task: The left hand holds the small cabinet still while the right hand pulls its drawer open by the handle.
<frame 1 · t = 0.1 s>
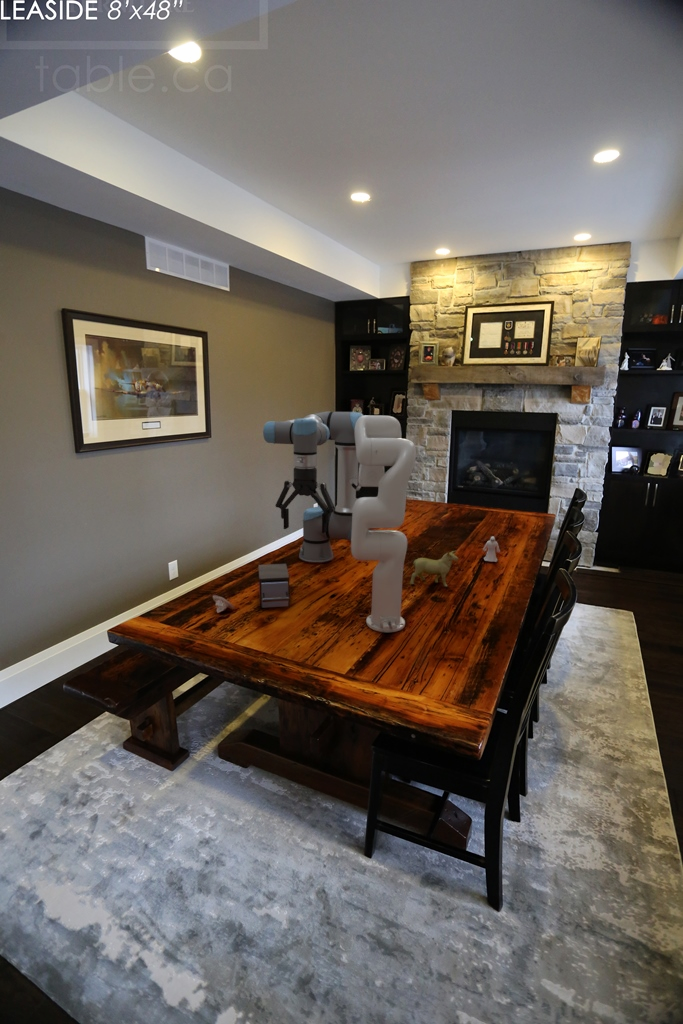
left hand: (305, 530, 167), 28 cm above the table, tool pointing down, fingers open, 13 cm apart
right hand: (370, 500, 199), 31 cm above the table, tool pointing down, fingers open, 9 cm apart
toy: (432, 585, 196), on the table
seashell: (222, 610, 170), on the table
figurine: (490, 560, 225), on the table
cabinet: (273, 598, 180), on the table
drawer: (274, 591, 173), point 5 cm above the table, slide at 1.2 cm
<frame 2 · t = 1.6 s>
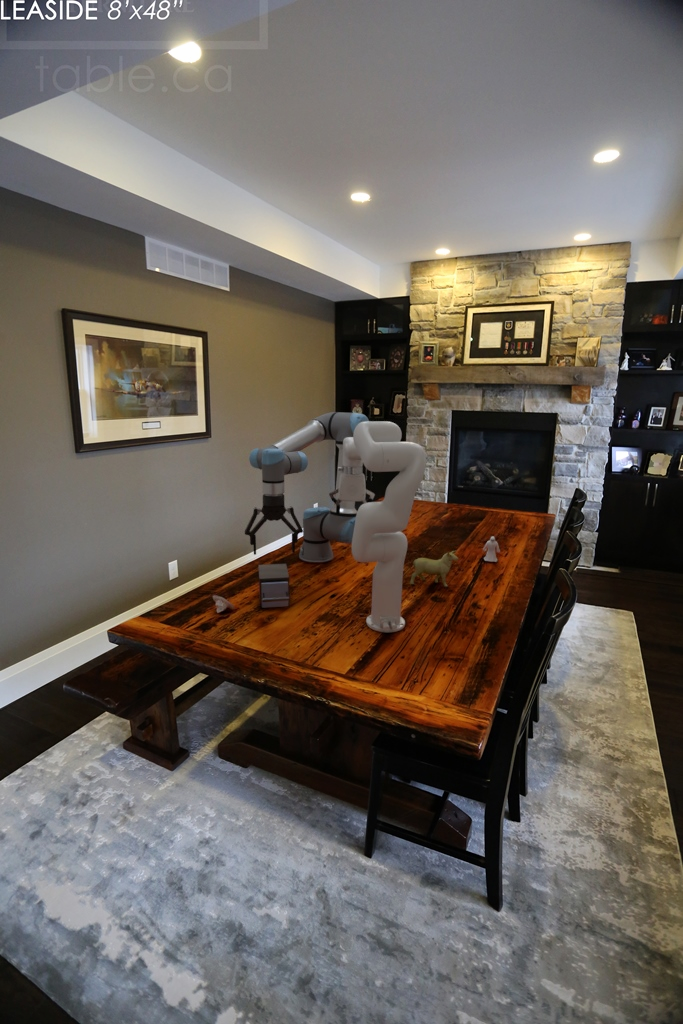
left hand: (274, 552, 178), 17 cm above the table, tool pointing down, fingers open, 13 cm apart
right hand: (351, 514, 191), 27 cm above the table, tool pointing down, fingers open, 9 cm apart
nothing on the table moved.
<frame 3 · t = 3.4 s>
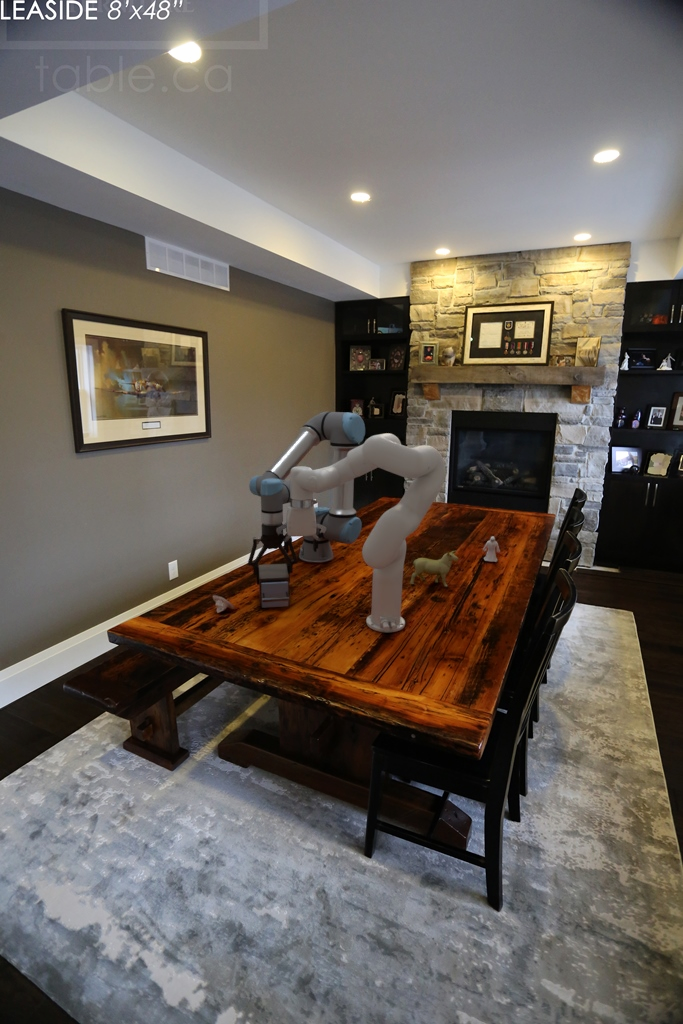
left hand: (273, 582, 181), 6 cm above the table, tool pointing down, fingers closed on cabinet, 10 cm apart
right hand: (301, 551, 173), 19 cm above the table, tool pointing down, fingers open, 9 cm apart
cabinet: (273, 598, 180), on the table, touching left hand
everything else where it was.
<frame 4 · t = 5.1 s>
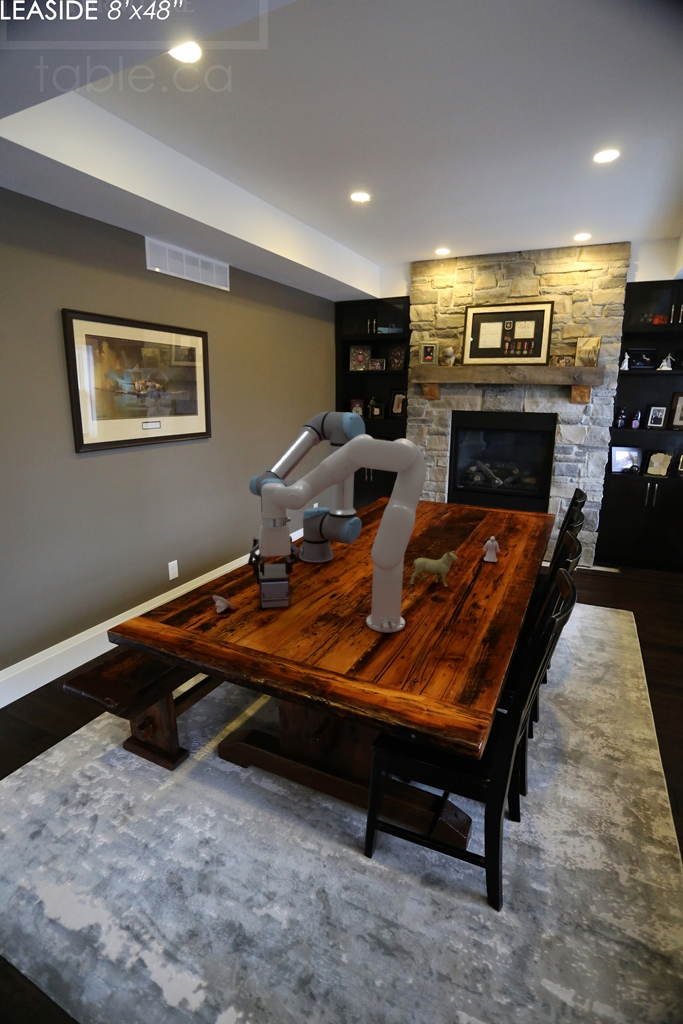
left hand: (273, 582, 181), 6 cm above the table, tool pointing down, fingers closed on cabinet, 10 cm apart
right hand: (275, 573, 165), 15 cm above the table, tool pointing down, fingers open, 7 cm apart
cabinet: (273, 598, 180), on the table, touching left hand
everything else where it was.
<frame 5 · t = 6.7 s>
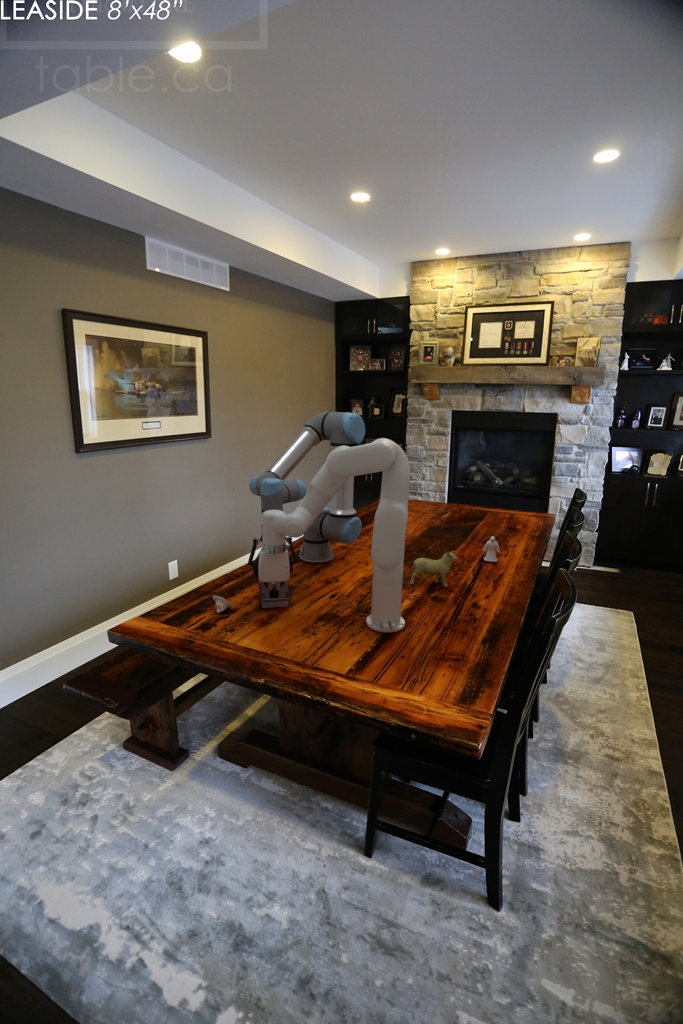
left hand: (273, 582, 181), 6 cm above the table, tool pointing down, fingers closed on cabinet, 10 cm apart
right hand: (274, 599, 167), 5 cm above the table, tool pointing down, fingers closed
cabinet: (273, 598, 180), on the table, touching left hand
drawer: (274, 591, 173), point 5 cm above the table, slide at 1.3 cm, touching right hand
everything else where it was.
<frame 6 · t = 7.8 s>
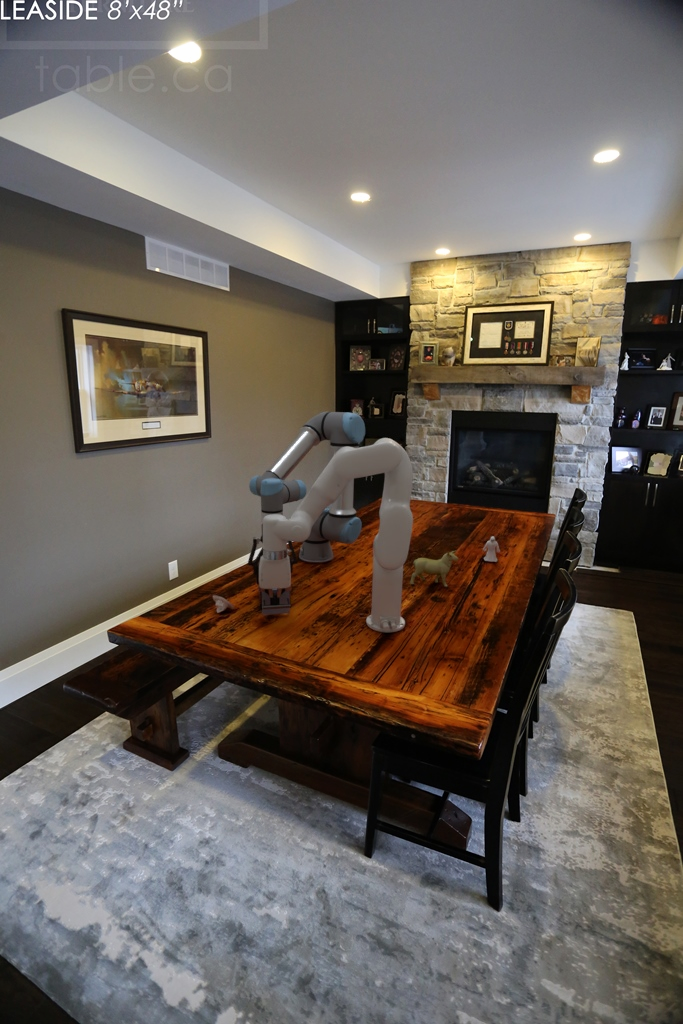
left hand: (273, 582, 181), 6 cm above the table, tool pointing down, fingers closed on cabinet, 10 cm apart
right hand: (274, 607, 162), 5 cm above the table, tool pointing down, fingers closed
cabinet: (273, 598, 180), on the table, touching left hand
drawer: (275, 598, 168), point 5 cm above the table, slide at 6.7 cm, touching right hand
everything else where it was.
when the left hand's fingers open (6 cm above the table, at t = 9.7 s): cabinet stays where it is, on the table.
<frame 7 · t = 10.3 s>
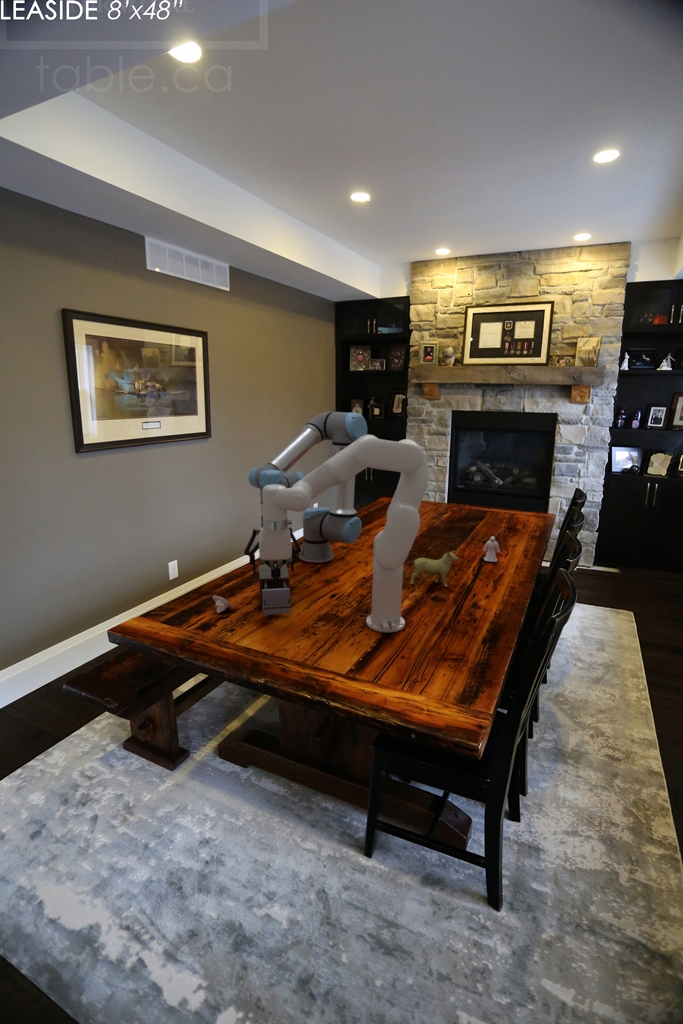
left hand: (273, 571, 180), 10 cm above the table, tool pointing down, fingers open, 13 cm apart
right hand: (275, 579, 161), 14 cm above the table, tool pointing down, fingers closed
cabinet: (273, 598, 180), on the table
drawer: (275, 598, 168), point 5 cm above the table, slide at 6.8 cm
everything else where it was.
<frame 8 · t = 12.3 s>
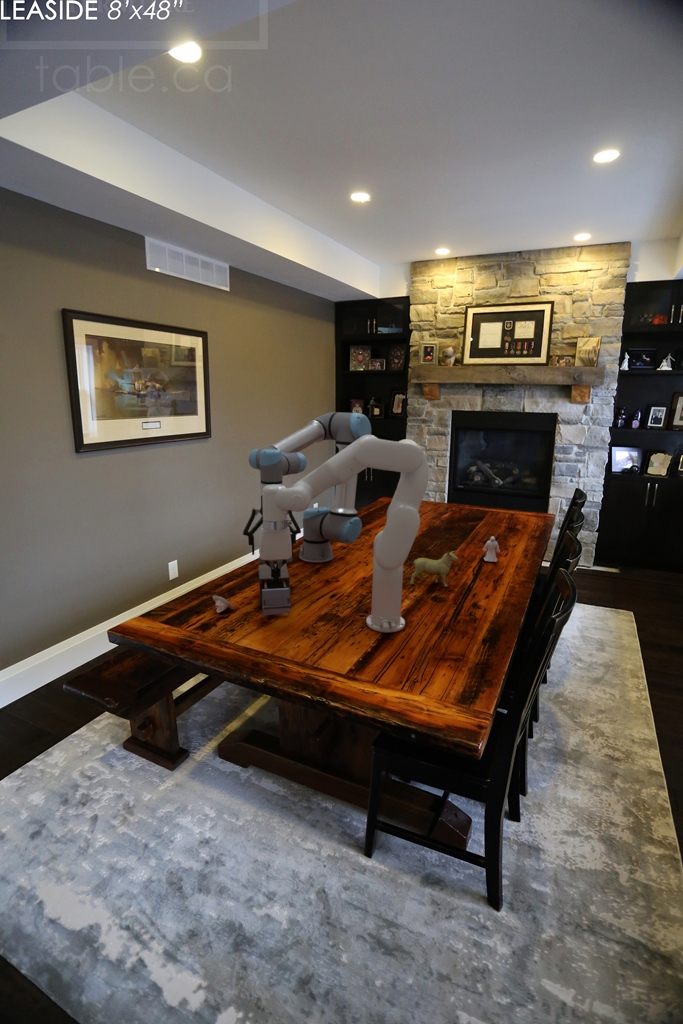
left hand: (272, 553, 178), 17 cm above the table, tool pointing down, fingers open, 13 cm apart
right hand: (275, 579, 161), 14 cm above the table, tool pointing down, fingers closed
nothing on the table moved.
at the end: drawer slide at 6.8 cm; cabinet tilted 0°; cabinet never tilted more than 1° during the clip; cabinet moved 0.1 cm from its start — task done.
